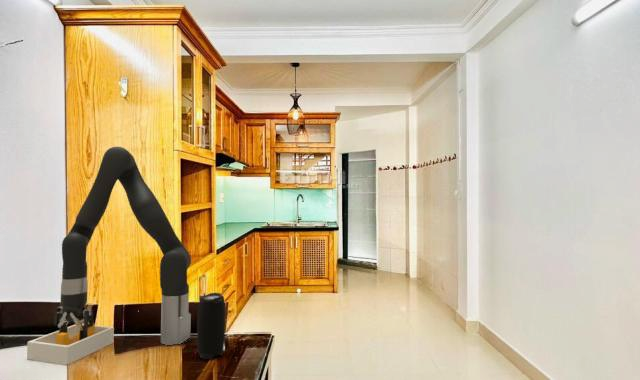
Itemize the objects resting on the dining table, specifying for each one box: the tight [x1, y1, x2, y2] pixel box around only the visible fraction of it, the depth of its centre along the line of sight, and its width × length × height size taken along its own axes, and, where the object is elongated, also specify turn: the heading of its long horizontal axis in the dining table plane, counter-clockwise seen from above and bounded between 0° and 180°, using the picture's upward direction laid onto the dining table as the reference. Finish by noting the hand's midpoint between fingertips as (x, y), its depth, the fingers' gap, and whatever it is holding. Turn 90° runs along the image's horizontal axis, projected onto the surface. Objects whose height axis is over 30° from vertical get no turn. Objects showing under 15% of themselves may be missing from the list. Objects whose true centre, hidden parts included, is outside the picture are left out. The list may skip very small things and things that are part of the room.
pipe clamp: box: [56, 321, 95, 346], centre depth 121 cm, size 12×4×6 cm, turn 166°
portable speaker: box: [196, 292, 226, 360], centre depth 119 cm, size 9×9×20 cm
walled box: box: [26, 323, 115, 366], centre depth 121 cm, size 16×18×6 cm
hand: (73, 339), depth 121 cm, fingers open, 8 cm apart
